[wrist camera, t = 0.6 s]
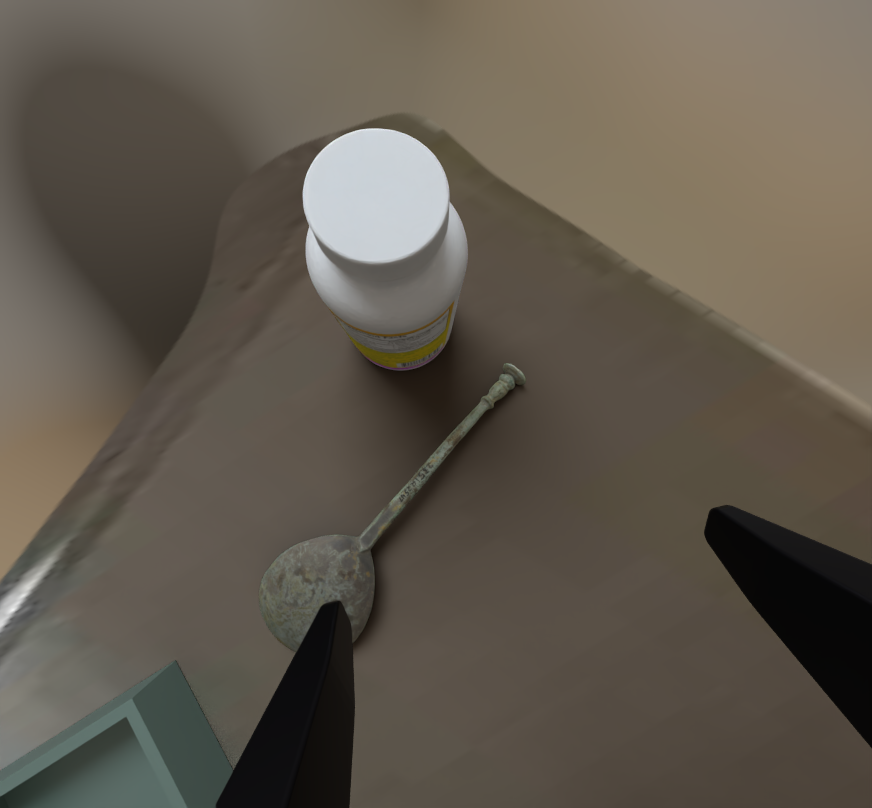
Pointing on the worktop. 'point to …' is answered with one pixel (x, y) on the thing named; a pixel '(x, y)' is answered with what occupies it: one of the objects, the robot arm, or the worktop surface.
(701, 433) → the worktop surface
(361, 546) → the soupspoon
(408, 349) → the supplement bottle
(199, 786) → the tray
